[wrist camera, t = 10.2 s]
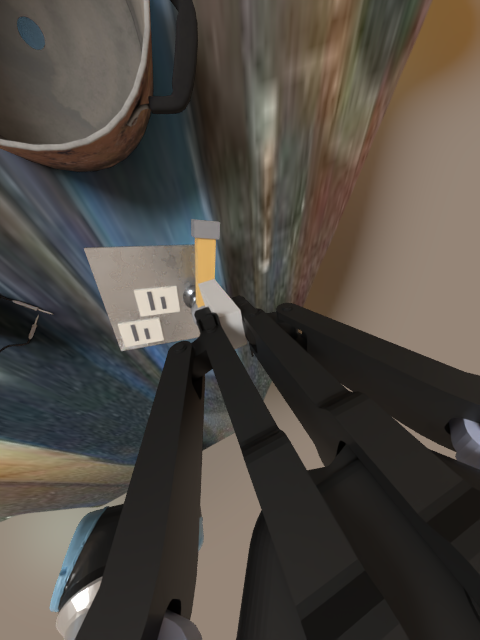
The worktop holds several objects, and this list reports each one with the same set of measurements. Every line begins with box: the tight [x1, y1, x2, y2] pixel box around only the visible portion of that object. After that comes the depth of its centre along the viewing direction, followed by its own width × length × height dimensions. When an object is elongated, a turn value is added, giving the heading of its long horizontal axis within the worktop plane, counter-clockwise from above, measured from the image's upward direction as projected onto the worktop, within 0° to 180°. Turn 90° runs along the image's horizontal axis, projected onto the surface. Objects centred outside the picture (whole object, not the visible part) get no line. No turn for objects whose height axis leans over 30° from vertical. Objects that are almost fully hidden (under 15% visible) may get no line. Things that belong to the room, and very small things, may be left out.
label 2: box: [118, 318, 164, 347], centre depth 36 cm, size 5×7×1 cm
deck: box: [84, 244, 200, 351], centre depth 33 cm, size 19×18×7 cm
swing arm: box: [191, 219, 220, 325], centre depth 28 cm, size 16×4×3 cm, turn 174°
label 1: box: [134, 286, 180, 317], centre depth 35 cm, size 5×7×1 cm
